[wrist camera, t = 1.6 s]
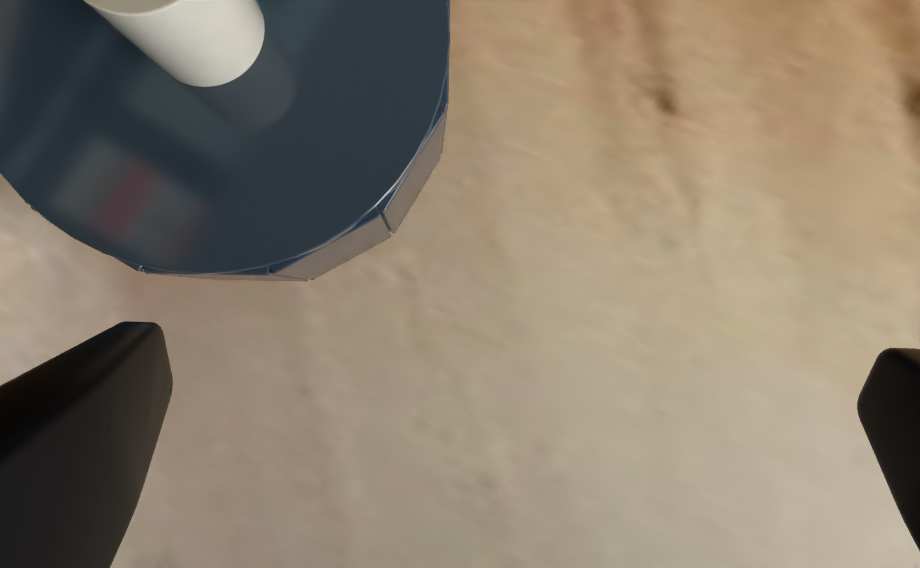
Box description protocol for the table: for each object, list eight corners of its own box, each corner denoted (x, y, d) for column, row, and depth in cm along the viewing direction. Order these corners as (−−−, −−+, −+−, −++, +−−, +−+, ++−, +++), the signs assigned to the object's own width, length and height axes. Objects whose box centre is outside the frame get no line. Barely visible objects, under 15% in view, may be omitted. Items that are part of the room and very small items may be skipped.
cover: (326, 346, 22) (242, 388, 12) (14, 161, 21) (-354, 39, 11) (507, 48, 22) (576, -158, 12) (206, -138, 22) (19, -511, 12)
